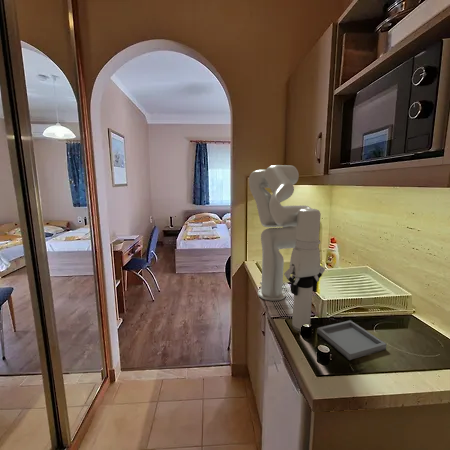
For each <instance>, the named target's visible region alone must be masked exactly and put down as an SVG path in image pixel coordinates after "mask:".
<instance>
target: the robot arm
mask: <svg viewBox="0 0 450 450" xmlns="http://www.w3.org/2000/svg"><path fill="white" fill-rule="evenodd" d="M299 176H300V174H299V171H298V169H297V167H296V166H294V165H289V164H288V165H286V164H284V165H282V164H275V165H270V166H268V167H267V168H266V169H257V170H254V171H252V172H251V173H250V174H249V176H248V185H249V186H248V187H249V191H250V193H251V195H252V197H253V199H254V202H255V204H256V209H257V213H258V217H259V222H260V224H261V225H262V226H263V227H264V229H263V231H262V232H261V234H260V242H261V249H262V250H261V251H262V252H261V253H262V257H261V258H262V259H261V260H262V262H261V281H260V283H259V284H260V286H261V288H259V289H258V291H257V295H258V297H259V298H261V299H263V300H266V301H269V302H270V301H271V302H278V301H282V300H283V299H285V298H286V292H285V290H283V287H284V285H283V284H284V283H283V282H284V281H283V280H284V279H283V278H284V277H286V279H287V281H289V283H290V293H291V294H293V296H294V295H295V296H297V295H298V285H297V283H298V281H299V279H300V278H303V277H310V276H314V278H313V291H312V293H313V292H314V293H317V290H318V282H319V281H320V278H321V277H322V276H323V273H324V272H325V271H326V270H325V269H326V268H325V267H323V266H322V265H321V252H320V248H319V244H321V240H319V239H320V230H321V227H320V226H321V214H322V213H321V211H320V210H319V209H316V208H312V207H310V206H308V205H282V204H281V203H282V202H284V201H287V200H288V199H290V198H291V196H293V194H294V191H295V187H294V185H296V184H297V182H298V181H299ZM267 189H270V190H271V193H270V192H269V191H268V190H267ZM265 228H266V229H265ZM284 249H292V251H291V254H290V255H291V256H290V259H289V260H290V261H289V268H288V269H287V270H286V271H285V272H284V264H285V263H284V262H285V261H284V259H285V258H284V256H283V255H282V253H281V252H280V250H284Z"/></svg>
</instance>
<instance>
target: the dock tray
mask: <svg viewBox="0 0 450 450" xmlns="http://www.w3.org/2000/svg"><path fill="white" fill-rule="evenodd" d="M316 329H317V330H316V333H317V335H318V336H320V337H321V338H322V339H323V340H325V341H326V342H327V343H328V344H329V345H330V346H332V347H333V348H334V349H335V350H336V351H337V352H339V353H340V354H341V355H343V356H344V357H345V358H346V359H347V360H349V361H351V360H354V359H359V358H361V357H365V356H369V355H372V354H375V353H378V352H382V351H385V350H387V343H386V342H384V341H383V340H381V339H379V338H378V337H377V336H375V335H374V334H372V333H371V332H369V331H368V330H366V329H365V328H363V327H362V326H360V325H359V324H357V323H355V322H353V320H352V319H349V320H346V321H343V322H338V323H333V324H329V325H324V326H319V327H317V328H316Z"/></svg>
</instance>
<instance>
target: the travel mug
mask: <svg viewBox="0 0 450 450" xmlns="http://www.w3.org/2000/svg"><path fill="white" fill-rule="evenodd" d="M313 278H314V276H310V277H303V278H300V279H299V281H298V283H297V285H298V295H297V296H295V295H294V294H293V304H292V305H293V306H292V321H291V322H292V324H291V327H292V328H293V330H295V331H297V332H301V327H302V325H304V324H310V325H311V316H312V303H313V302H312V301H313Z"/></svg>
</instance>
